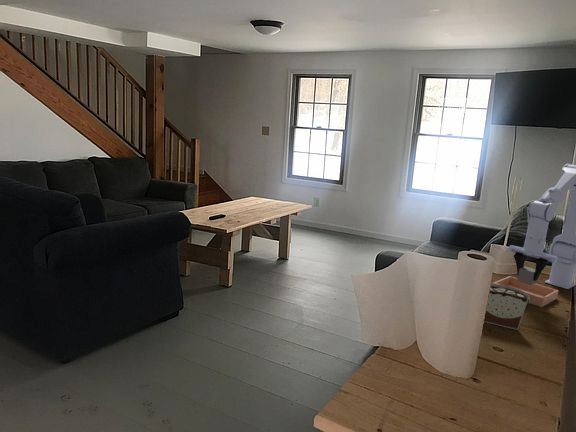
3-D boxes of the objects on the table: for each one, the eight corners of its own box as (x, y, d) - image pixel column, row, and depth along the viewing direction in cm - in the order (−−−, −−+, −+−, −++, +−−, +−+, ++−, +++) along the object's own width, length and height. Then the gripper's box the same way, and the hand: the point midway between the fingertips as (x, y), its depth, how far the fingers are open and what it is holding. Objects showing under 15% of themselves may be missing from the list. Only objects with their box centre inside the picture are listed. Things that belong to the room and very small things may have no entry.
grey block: (522, 279, 160) (524, 266, 159) (536, 283, 157) (538, 270, 156) (517, 281, 157) (519, 268, 156) (531, 285, 154) (533, 272, 153)
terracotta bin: (508, 283, 168) (509, 276, 167) (556, 298, 157) (558, 290, 156) (491, 291, 158) (492, 282, 158) (541, 307, 147) (543, 298, 147)
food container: (523, 323, 133) (530, 290, 131) (524, 331, 128) (531, 296, 126) (477, 312, 138) (483, 280, 136) (475, 319, 133) (481, 286, 131)
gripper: (508, 234, 156) (500, 273, 159) (555, 245, 146) (546, 286, 149) (516, 231, 161) (509, 269, 164) (562, 242, 151) (554, 282, 153)
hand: (527, 277), depth 156 cm, fingers closed on grey block, 4 cm apart
